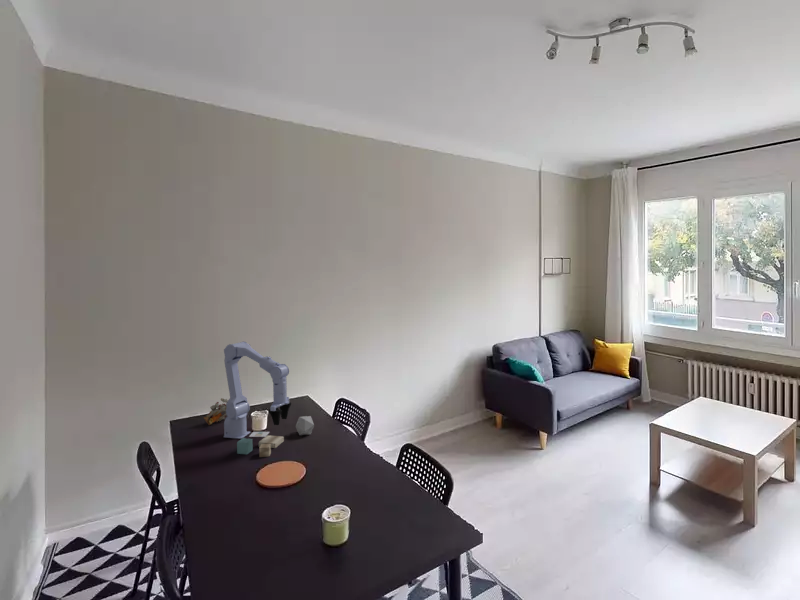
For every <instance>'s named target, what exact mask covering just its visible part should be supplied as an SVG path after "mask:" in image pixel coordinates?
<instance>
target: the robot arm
mask: <svg viewBox="0 0 800 600" xmlns="http://www.w3.org/2000/svg"><path fill="white" fill-rule="evenodd" d="M223 353H224V367H225V373H226V379H227V386H228V387H227V388H228V392H229V399H227V400H228V402H227V403H226V402H225V404H226V406H227V408H226V412H225V413H226V414H227V415H226V417H225V419H224V423H223V429H224V434H223V438H226V439H227V438H228V439H240V440H241V439H242V438H246V436H248V435H250V434H251V431H247V427H248V426H247V416H248V413H249V412H250V409H251V406H250V403H249V402H248V401H249V400H248V398H247V396H245V395H243V390H242V383H241V379H240V371H239V365H238V362H239V361H240V360H241V359H242V358H243V357H247V358H249V359H250V360H252V361H254V362H256V363H258V364H259V368H261V369H262V370H264V371H265V372H266V373H269V375H270V378H271V379H272V383H273V384H272V385H273V387H272V388H273V389H272V390H273V391H272V392H273V396H272V397H273V401H272V404H271V406H269V407H270V408H269V409H268V413H269V415H270V416H271V419H272V423H273V425H274V426H279V425H280V423H281V421H280V420H281V419H282V420H287V419H288V414H289V410H290V407H291V405H292V402H291V401H290V397H289V396H287V394H288V393H287V390H288V388H287V377H288V375H289V374H290V369H289V367H288V366H287V364H285V363H280V362H278V361H276V360H274V359H272V357H271V356H263V355H262V354H260V352H258V351H257V350H256V349H254V348H252V346H251V344H249V343H248V342H246V341H239V342H236V343H232V344H230V343H229V344H227V345H226V346H225V348H224V349H223Z"/></svg>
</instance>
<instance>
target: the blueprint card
mask: <svg viewBox="0 0 800 600" xmlns="http://www.w3.org/2000/svg"><path fill="white" fill-rule="evenodd" d="M269 434H270V431H253V432H251V433H250V434H249V436H248V438H249V437H250V438H252V437H253V438H265V437H266V436H267V435H269Z"/></svg>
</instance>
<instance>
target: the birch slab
mask: <svg viewBox="0 0 800 600" xmlns="http://www.w3.org/2000/svg"><path fill="white" fill-rule="evenodd" d="M284 441H285V437H284V436H281V435H269V434H268V435H267V436H266V437H262V439H260V440H259V441H258V447H259V448H260V445H261V444H270V443H271V449H277V448H278V446H281V444H282V443H283V442H284Z"/></svg>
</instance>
